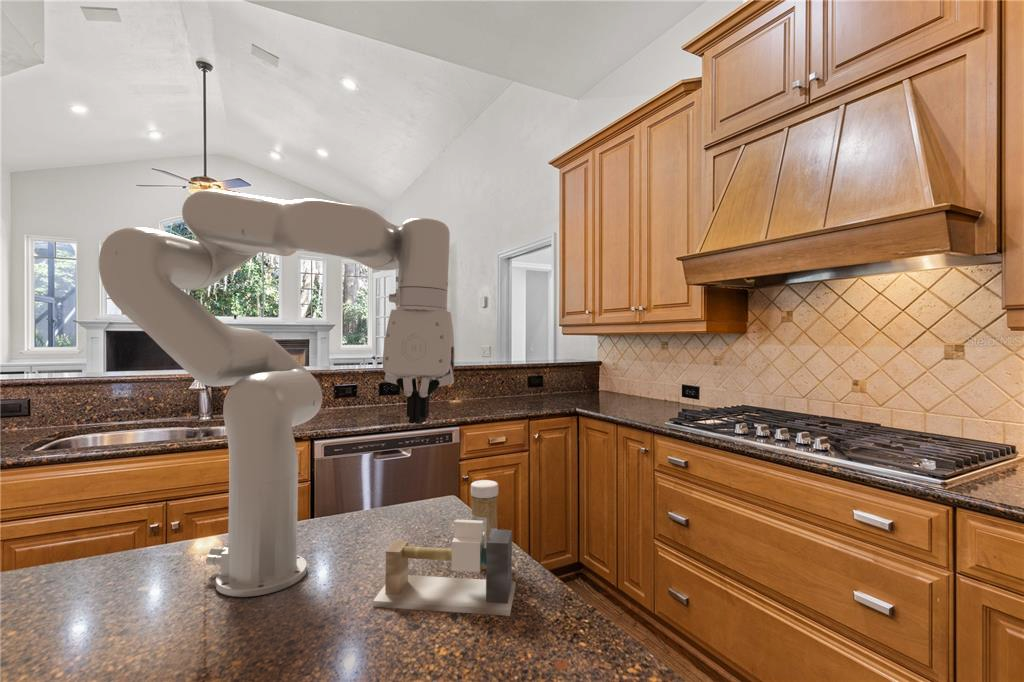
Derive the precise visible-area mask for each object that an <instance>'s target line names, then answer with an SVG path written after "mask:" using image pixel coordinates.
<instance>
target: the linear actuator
mask: <svg viewBox="0 0 1024 682" xmlns="http://www.w3.org/2000/svg"><path fill="white" fill-rule="evenodd" d="M512 544H513V530H512V529H499V528H497V529H492V530H491V532H490V535H489V537H488V540H487V542H486V548H482V550H481V565H486V569H485V570H486V571H485V572H486V573H485V579H482V578H481V579H476V578H463V577H448V576H447V577H446V576H444V577H443V576H429V575H428V576H427V575H414V574H413V575H412V574H409V559H414V560H432V561H433V560H434V561H450V562H452V548H450V547H449V548H448V547H445V548H444V547H431V546H430V547H429V546H410V545H409V541H408V540H394V541H393V542H392V543H391V545H390V546H389V547H388V548H387V550H386V551H385V583H384V584H385V585H384V586H382V588H381V590H380V591H379V592H378V594H377V595H376V596H375V597H374V599H373V600H372V607H374V608H375V607H376V608H387V609H403V610H418V611H429V612H431V611H434V612H447V613H463V614H478V615H479V614H480V615H490V616H491V615H492V616H507V617H510V616H511V612H512V608H513V602H514V597H515V591H516V588H517V581H514V580H513V581H512V577H513V576H512V573H513V572H512V571H513V569H512V566H513V565H512V562H513V561H512V555H513V552H512V551H513V550H512V549H513V545H512Z"/></svg>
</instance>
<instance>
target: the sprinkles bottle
mask: <svg viewBox="0 0 1024 682" xmlns="http://www.w3.org/2000/svg"><path fill="white" fill-rule="evenodd" d="M470 495H471V497H470V498H471V513H470V515H471V516H470V520H479V521H483V532H485V548H486V542H487V540H488V537H489V535H490V532H491V530H492V529H498V495H499V483H498V482H497V481H494V480H489V479H481V480H480V479H479V480H475V481H473V482H472V483H470ZM481 570H486V565H481Z"/></svg>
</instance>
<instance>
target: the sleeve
mask: <svg viewBox="0 0 1024 682" xmlns="http://www.w3.org/2000/svg"><path fill="white" fill-rule="evenodd" d="M453 528H454V533H453V534H454V537H453V539H452V541H451V549H452V561H451V571H452V572H453V571H455V572H468V573H469V572H473V573H481V570H482V569H481V550H482V548H485V532H483V521H479V520H471V519H457V518H456V519H455V521H454V526H453Z"/></svg>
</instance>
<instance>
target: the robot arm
mask: <svg viewBox="0 0 1024 682" xmlns="http://www.w3.org/2000/svg"><path fill="white" fill-rule="evenodd" d="M181 214H182V215H181V216H182V219H183V222H184V225H185V226H186V228H187V229H188V230H189V231H190V232H191V233H192V234H193V236H195V237H196V238H194V239H193V240H191V239H188V238H185V237H182V236H179V235H175V234H172V233H169V232H166V231H161V230H159V229H154V228H150V227H139V226H134V227H133V226H132V227H124V228H121V229H118V230H115V231H114V232H112V233H111V234H110V235H108V236H107V237H106V239H105V240H104V241H103V242H102V245H101V247H100V251H99V257H98V271H99V276H100V280H101V283H102V286H103V288H104V290H105V292H106V294H107V296H108V297H109V299H110V300H111V301H112V303H113V304H114V305H115V306H116V307H117V309H119V311H120V312H122V313H123V315H125V316H126V317H127V318H128V319H129V320H130V321H132V322H133V323H135V325H136V326H138V327H139V328H140V329H141V330H142V331H143V332H145V333H146V334H147V335H148V336H149V338H151V339H152V340H153V341H154V342H155V343H156V344H157V345H158V346H159V347H160V348H161V349H162V350H163V351H164V352H166V354H167V355H168V356H169V357H170V358H172V359H173V361H175V362H176V363H177V364H178V365H179V366H180V367H181V368H182V369H183V370H184V371H185V372H186V373H188V374H189V375H190V376H191V377H192V378H193V379H194V380H195V381H196V382H198V383H200V384H201V385H203V386H209V387H215V388H216V387H228V386H231V387H230V388H229V390H228V391H227V393H226V395H225V397H224V401H223V408H222V409H223V410H222V415H223V421H224V427H225V432H226V436H227V437H226V438H227V444H228V523H227V524H228V528H227V530H228V531H227V532H228V536H227V546H226V545H225V546H224V545H214V546H212V547H211V548H210V550H209V553H208V555H207V557H206V559H205V564H206V565H213V566H216V565H219V566H220V572H219V573H218V574H217V575H216V578H215V585H214V587H215V589H216V591H218V593H220V594H222V595H225V596H229V597H236V598H237V597H238V598H251V597H257V596H263V595H268V594H272V593H275V592H279V591H282V590H284V589H286V588H289V587H291V586H292V585H294V584H296V583H298V582H299V581H300V580H302V579H303V578H304V577H305V575H306V574H307V572H308V562H307V560H306V559H305V558H304V557H303V556H301V555H298V502H299V498H298V497H299V494H298V493H299V492H298V491H299V489H298V488H299V458H298V457H299V456H298V448H297V445H296V440H295V436H294V433H293V427H296V426H299V425H300V426H301V425H302V424H304V423H306V422H308V421H310V420H312V419H313V418H314V417H315V416H316V415H317V414H318V413H319V411H320V410H321V407H322V404H323V391H322V387H321V386H320V384H319V382H318V380H317V379H316V378H315V376H314V375H313V374H312V373H311V372H310V371H309V370H308V369H307V368H306V367H304V366H303V365H302V364H301V363H300V362H299V361H298V360H297V359H296V358H295V357H294V356H292V355H291V354H290V352H288V351H287V350H286V349H285V348H284V347H283V346H282V345H280V344H279V342H277V341H276V340H275V339H274V338H273V337H271V336H269V335H268V334H266V333H264V332H262V331H260V330H256V329H252V328H245V327H244V328H243V327H235V326H230V325H229V324H228V325H227V324H225V323H224V322H223V321H221V320H220V319H218V318H217V317H216V316H215V315H214V314H212V312H210V311H209V310H208V309H207V308H206V307H205V306H204V304H202V303H201V302H200V301H198V300H197V299H196V298H194V296H191V295H190V294H188V293H187V292H186V291H187V290H188V291H198V290H202V289H206V288H209V287H210V286H213V285H214V284H216V283H217V282H219V281H220V280H223V279H224V278H225V277H226V276H228V275H230V274H231V273H233V272H234V271H236V270H237V269H238V268H241V266H243V265H244V264H246V263H248V262H249V261H250V260H252V259H253V258H255V257H256V256H257V255H258V254H260V253H265V254H268V255H269V254H270V255H275V256H281V257H288V256H289V257H290V256H292V255H293V254H295V253H296V252H299V251H300V252H311V253H318V254H323V255H329V256H335V257H341V258H346V259H350V260H353V261H356V262H357V263H360V264H362V265H363V266H366V267H368V268H369V269H373V270H375V271H393V270H394V271H395V270H397V273H398V274H397V288H396V291H395V293H389V294H388V301H389V303H394V304H395V306H396V309H390V313H389V317H388V321H387V325H386V326H387V327H386V331H385V336H384V337H385V339H384V344H383V345H384V346H383V354H382V370H383V372H384V373H385V375H384V381H385V382H387V383H390V384H394V385H397V386H398V387H399V388H400V389H401V390H402V391H403V393H404V396H405V397H406V398H407V400H406V417H407V418H408V424H416V425H420V424H423V423H425V422H426V420H427V419H428V418H429V415H430V400H431V399H430V398H431V397H430V396H432V395H433V393H434V392H435V391H436V390H438V389H439V387H445V386H451V385H453V384H454V383H455V378H454V377H455V376H454V369H455V359H456V358H455V355H456V354H455V337H454V325H453V318H452V313H451V312H450V311H447V309H448V289H449V288H448V287H449V284H448V283H449V265H450V264H449V263H450V260H449V259H450V241H451V240H450V235H451V233H450V229H449V227H448V225H447V224H446V223H444V222H443V221H441V220H437V219H432V218H427V217H425V218H424V217H415V218H410V219H409V218H408V219H407V220H405V221H403V222H402V223H401V225H400V226H399V225H396V224H393V223H391V222H390V221H388V220H387V219H386V218H384V217H383V216H382V215H380V214H378V213H377V212H376V211H374V210H372V209H369V208H367V207H364V206H360V205H357V204H356V205H355V204H350V203H345V202H338V201H337V202H336V201H333V200H325V199H318V198H303V199H293V200H285V199H278V198H273V197H265V196H260V195H253V194H246V193H241V192H240V193H239V192H233V191H227V190H221V189H203V190H199V191H196V192H194V193H191V194H190V195H189V196H188V197H187V198H186V200H185V201H184V203H183V205H182V210H181ZM183 290H186V291H183ZM419 377H420V378H421V383H420V388H419V387H418V385H419V384H418V378H419Z"/></svg>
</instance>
